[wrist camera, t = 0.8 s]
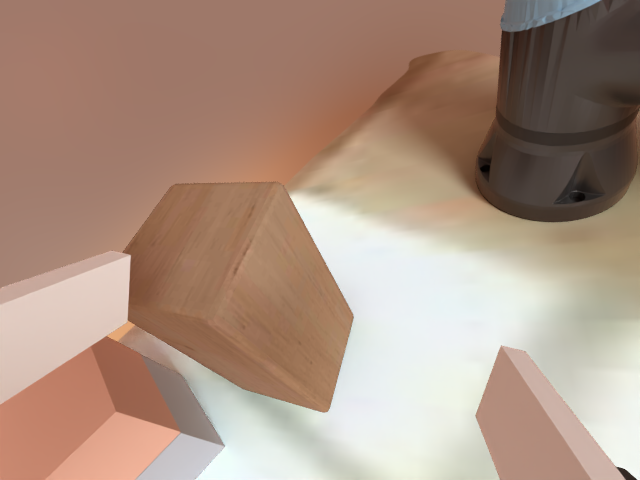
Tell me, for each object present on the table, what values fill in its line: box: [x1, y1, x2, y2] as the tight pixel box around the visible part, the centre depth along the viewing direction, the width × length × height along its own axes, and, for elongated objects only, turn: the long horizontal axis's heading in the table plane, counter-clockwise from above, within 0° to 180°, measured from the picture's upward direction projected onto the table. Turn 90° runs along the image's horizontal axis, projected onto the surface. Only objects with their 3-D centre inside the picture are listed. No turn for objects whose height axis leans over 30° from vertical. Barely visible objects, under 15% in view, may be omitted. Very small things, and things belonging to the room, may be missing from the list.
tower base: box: [135, 354, 225, 480], centre depth 32 cm, size 10×10×7 cm
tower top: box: [0, 336, 181, 480], centre depth 27 cm, size 10×10×7 cm
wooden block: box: [122, 182, 354, 412], centre depth 29 cm, size 10×10×20 cm
